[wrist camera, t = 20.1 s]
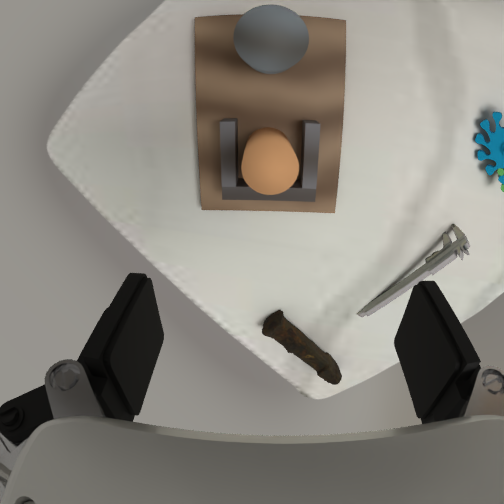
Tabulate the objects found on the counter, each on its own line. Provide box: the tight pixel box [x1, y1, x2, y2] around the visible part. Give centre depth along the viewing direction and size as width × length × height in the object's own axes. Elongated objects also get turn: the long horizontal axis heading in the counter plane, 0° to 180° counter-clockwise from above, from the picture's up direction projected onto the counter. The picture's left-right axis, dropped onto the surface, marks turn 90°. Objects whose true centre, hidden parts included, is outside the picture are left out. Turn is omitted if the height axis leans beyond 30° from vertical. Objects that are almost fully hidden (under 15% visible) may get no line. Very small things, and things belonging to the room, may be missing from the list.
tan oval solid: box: [241, 127, 299, 195], centre depth 31 cm, size 5×5×8 cm
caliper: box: [357, 224, 470, 317], centre depth 41 cm, size 20×1×6 cm, turn 143°
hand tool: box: [262, 310, 342, 385], centre depth 50 cm, size 19×4×5 cm, turn 41°
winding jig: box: [195, 5, 346, 213], centre depth 29 cm, size 23×16×10 cm
